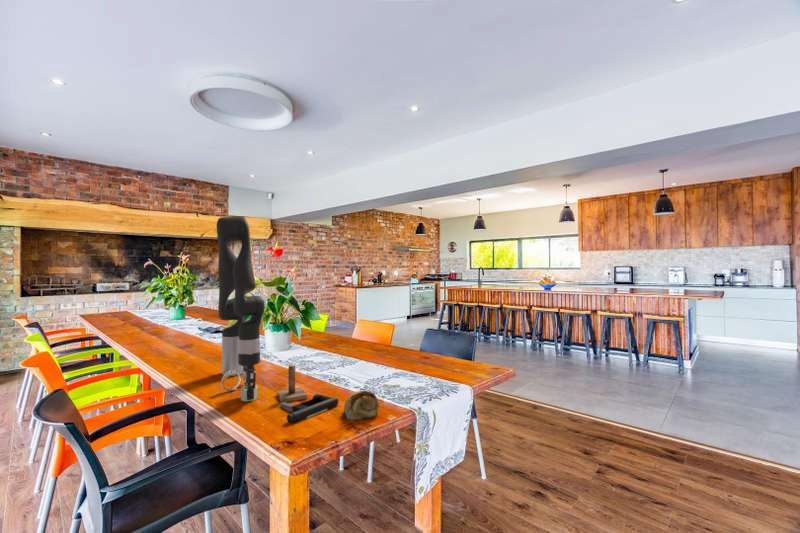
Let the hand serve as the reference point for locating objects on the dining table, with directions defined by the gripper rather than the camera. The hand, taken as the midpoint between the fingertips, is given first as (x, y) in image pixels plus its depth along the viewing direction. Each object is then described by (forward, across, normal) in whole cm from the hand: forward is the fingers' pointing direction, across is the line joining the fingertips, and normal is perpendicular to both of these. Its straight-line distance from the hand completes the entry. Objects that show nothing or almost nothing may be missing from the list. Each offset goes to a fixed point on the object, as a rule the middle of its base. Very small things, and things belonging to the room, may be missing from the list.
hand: (249, 396), depth 134 cm
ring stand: (+1, +6, +14) cm, 15 cm away
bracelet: (+1, -12, -5) cm, 13 cm away
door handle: (+1, +19, +15) cm, 25 cm away
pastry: (+1, +32, +31) cm, 45 cm away
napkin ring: (+1, 0, 0) cm, 1 cm away
